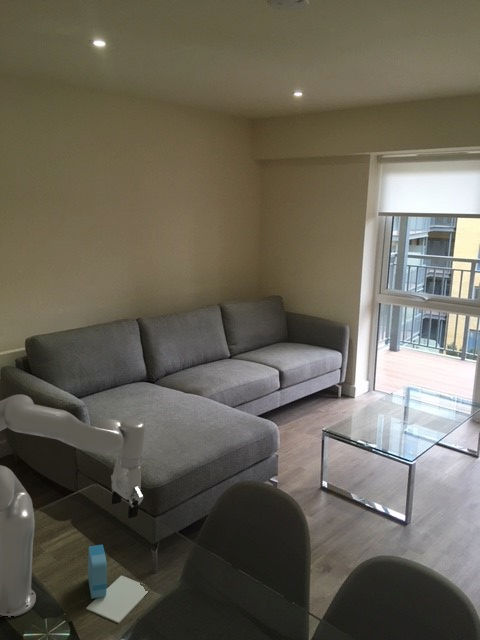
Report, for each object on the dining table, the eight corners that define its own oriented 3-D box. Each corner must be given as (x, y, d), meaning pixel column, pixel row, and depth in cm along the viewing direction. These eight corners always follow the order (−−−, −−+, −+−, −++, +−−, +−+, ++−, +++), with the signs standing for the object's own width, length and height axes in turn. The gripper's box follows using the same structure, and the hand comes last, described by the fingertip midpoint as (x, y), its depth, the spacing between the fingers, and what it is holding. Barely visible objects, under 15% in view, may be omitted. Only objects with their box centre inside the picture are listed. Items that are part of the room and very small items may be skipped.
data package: (106, 598, 168) (107, 563, 166) (91, 601, 166) (91, 565, 165) (101, 575, 179) (102, 542, 177) (87, 578, 178) (88, 544, 176)
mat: (86, 609, 164) (86, 607, 163) (121, 576, 180) (121, 575, 180) (118, 623, 159) (118, 622, 159) (151, 589, 175) (151, 587, 175)
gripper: (104, 451, 173) (100, 501, 175) (134, 473, 160) (128, 525, 163) (125, 447, 178) (120, 495, 180) (155, 467, 166) (149, 519, 168)
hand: (124, 509), depth 172 cm, fingers open, 9 cm apart
